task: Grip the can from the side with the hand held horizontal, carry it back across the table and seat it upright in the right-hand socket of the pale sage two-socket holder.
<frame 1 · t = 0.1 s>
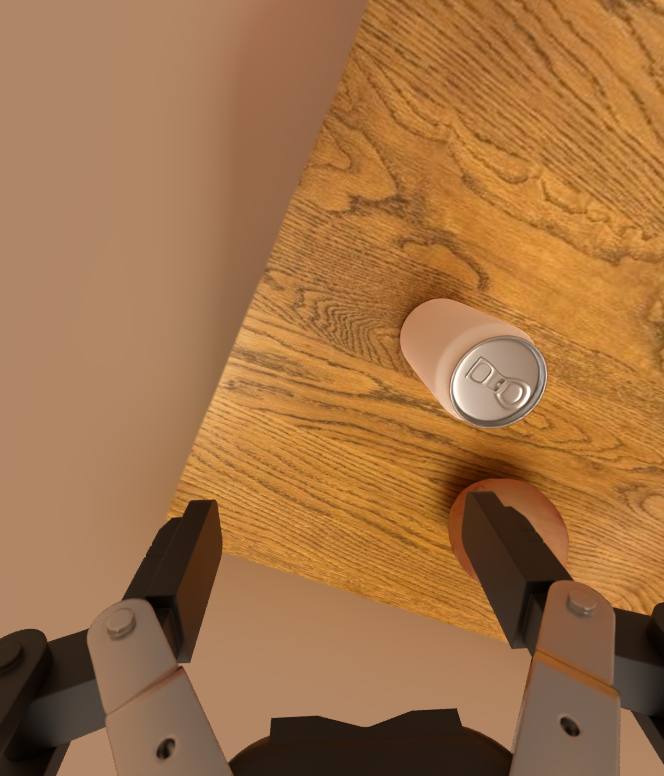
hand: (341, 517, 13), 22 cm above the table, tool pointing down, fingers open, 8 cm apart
can: (435, 335, 33), on the table
onion: (481, 497, 40), on the table
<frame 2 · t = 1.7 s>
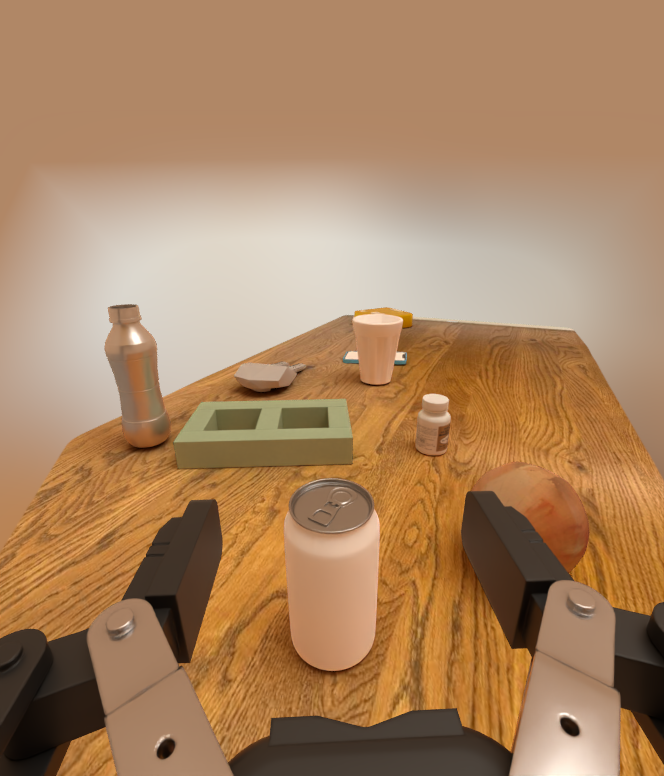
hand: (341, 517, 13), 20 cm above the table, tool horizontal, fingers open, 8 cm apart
pill bottle: (430, 449, 56), on the table
element tile: (382, 325, 132), on the table
can: (333, 633, 30), on the table
turret: (275, 382, 82), on the table
holder: (271, 442, 58), on the table
cup: (375, 381, 82), on the table
smartphone: (375, 360, 96), on the table
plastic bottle: (150, 443, 58), on the table
onion: (513, 564, 36), on the table
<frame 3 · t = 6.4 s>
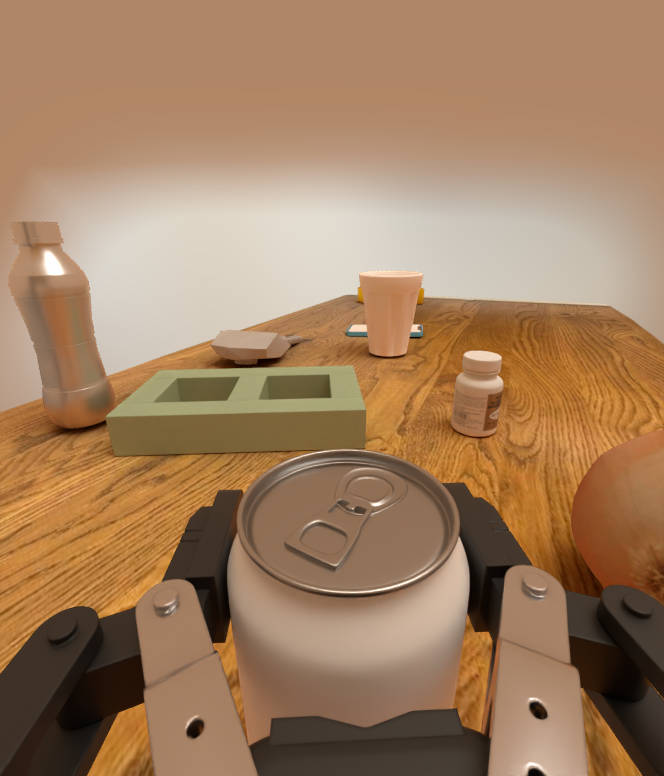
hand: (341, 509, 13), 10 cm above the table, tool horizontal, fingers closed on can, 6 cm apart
pill bottle: (472, 429, 40), on the table
element tile: (389, 303, 117), on the table
can: (346, 775, 14), on the table, touching gripper
turret: (263, 355, 66), on the table
holder: (251, 421, 42), on the table
cup: (387, 354, 66), on the table
smartphone: (384, 334, 80), on the table
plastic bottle: (87, 423, 43), on the table
onion: (659, 611, 21), on the table
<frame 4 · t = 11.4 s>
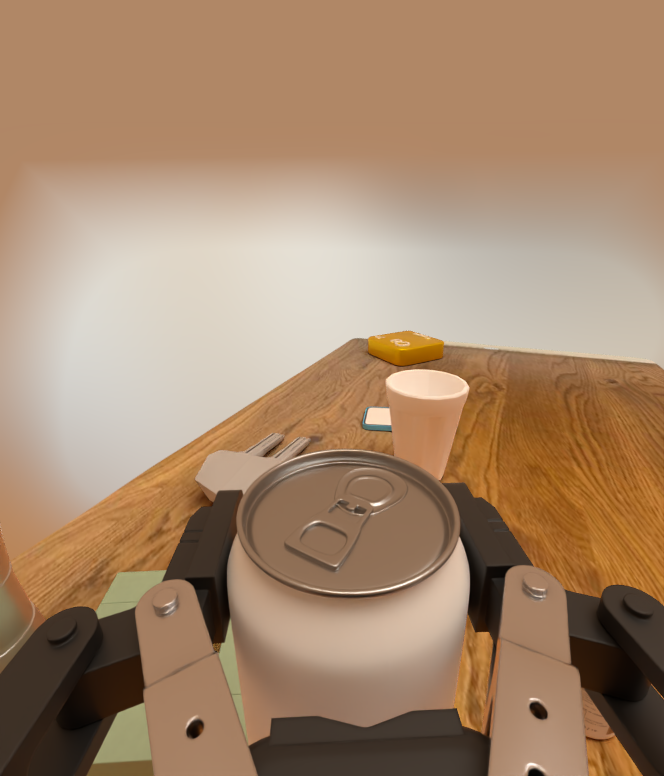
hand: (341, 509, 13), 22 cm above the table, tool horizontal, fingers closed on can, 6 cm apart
pill bottle: (580, 705, 27), on the table
element tile: (404, 355, 103), on the table
turret: (262, 476, 53), on the table
holder: (248, 677, 29), on the table
cup: (418, 474, 53), on the table
smartphone: (408, 423, 67), on the table
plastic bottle: (6, 678, 29), on the table
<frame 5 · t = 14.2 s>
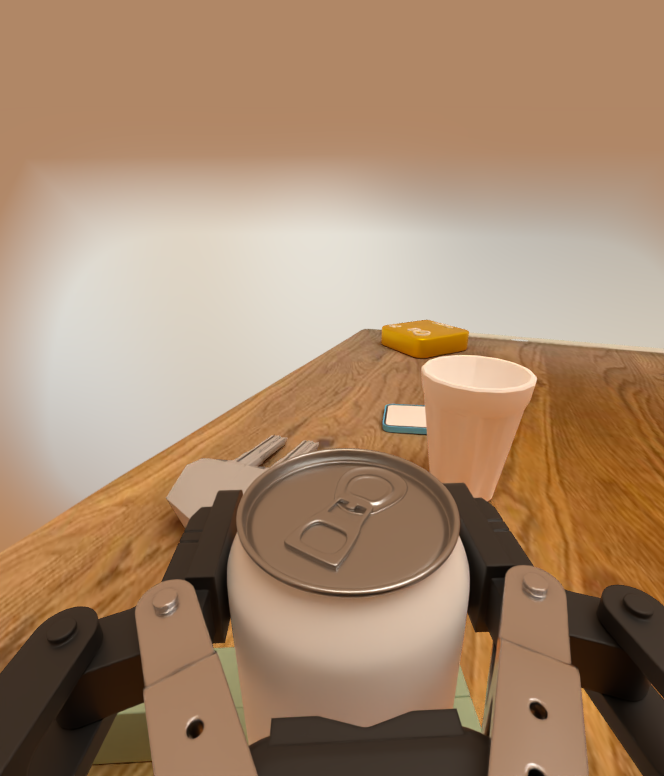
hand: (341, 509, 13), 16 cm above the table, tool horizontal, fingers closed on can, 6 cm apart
element tile: (422, 347, 91), on the table
can: (346, 775, 14), point 6 cm above the table, touching gripper
turret: (258, 491, 41), on the table
cup: (460, 490, 41), on the table
smartphone: (437, 424, 55), on the table
when the fingers open (10 cm above the table, at t = 16.5 s): can stays where it is, resting in holder.
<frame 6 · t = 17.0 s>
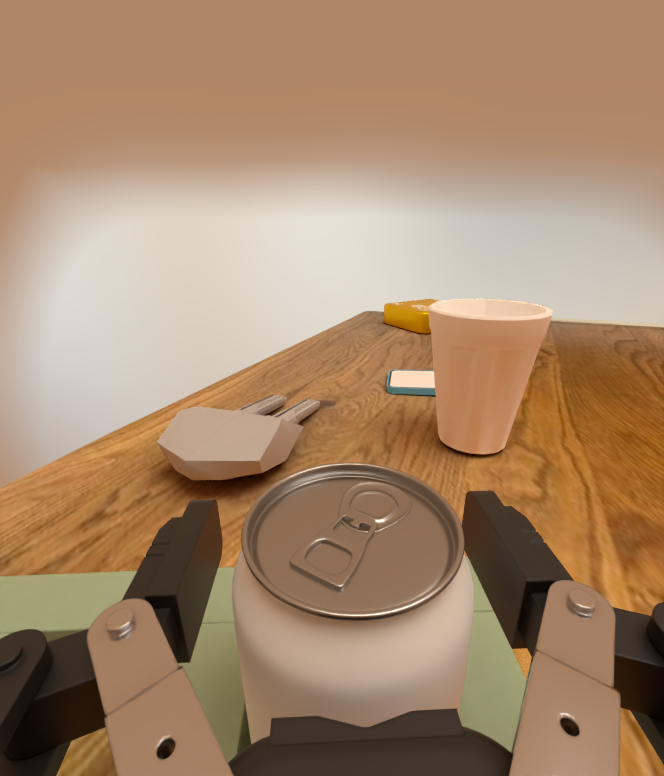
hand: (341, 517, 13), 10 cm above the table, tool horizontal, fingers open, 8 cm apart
element tile: (426, 325, 89), on the table
turret: (256, 445, 39), on the table
cup: (470, 443, 38), on the table
smartphone: (444, 388, 52), on the table
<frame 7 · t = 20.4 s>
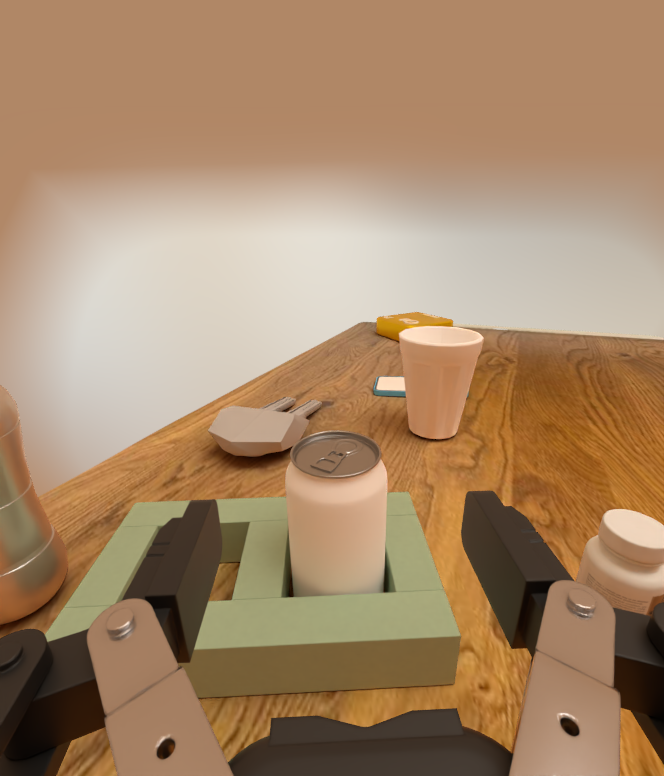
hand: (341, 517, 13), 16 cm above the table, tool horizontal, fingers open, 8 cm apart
pill bottle: (606, 622, 26), on the table
element tile: (413, 335, 103), on the table
can: (338, 597, 28), resting in holder
turret: (275, 434, 53), on the table
holder: (268, 597, 28), on the table
cup: (432, 431, 52), on the table
smartphone: (419, 390, 66), on the table
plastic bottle: (25, 599, 29), on the table
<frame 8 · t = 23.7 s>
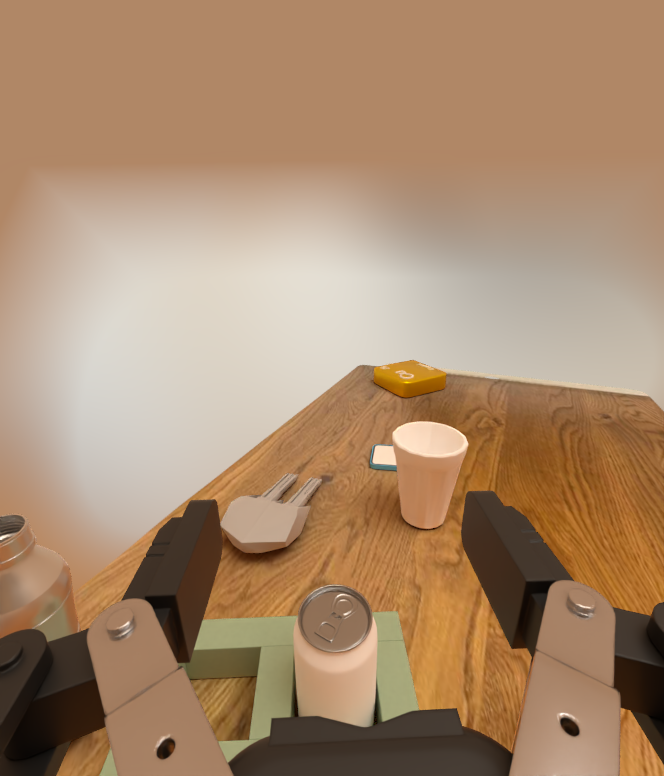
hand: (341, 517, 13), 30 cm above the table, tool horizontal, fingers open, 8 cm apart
element tile: (408, 385, 108), on the table
can: (336, 717, 34), resting in holder
turret: (279, 518, 58), on the table
holder: (277, 718, 34), on the table
cup: (422, 517, 58), on the table
smartphone: (412, 462, 72), on the table
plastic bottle: (70, 717, 34), on the table
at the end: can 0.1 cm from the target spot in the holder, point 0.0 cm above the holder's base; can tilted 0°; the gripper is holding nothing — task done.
